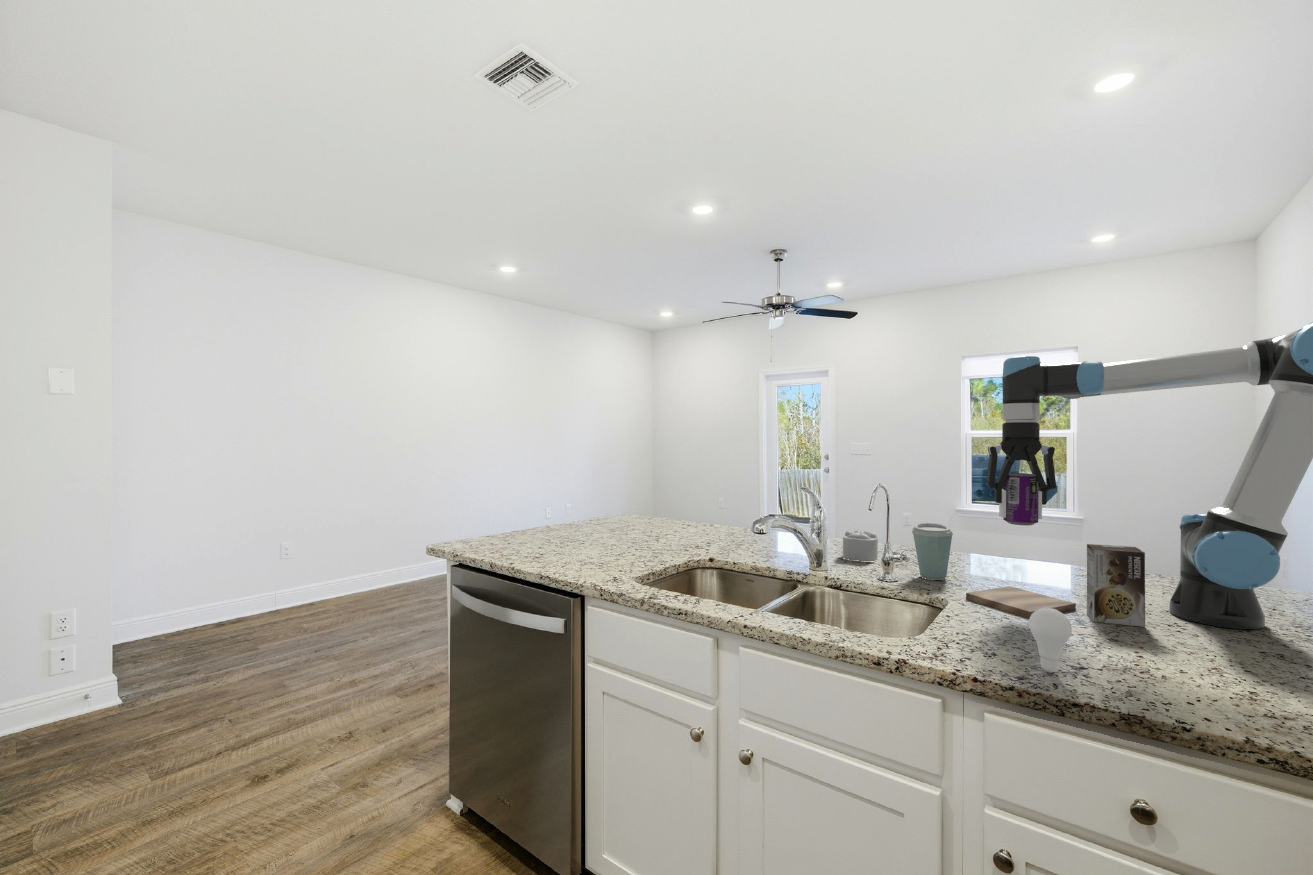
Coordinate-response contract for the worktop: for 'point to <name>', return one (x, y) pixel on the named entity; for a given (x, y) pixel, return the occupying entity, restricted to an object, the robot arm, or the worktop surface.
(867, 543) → the lumpy-topped squat cylinder
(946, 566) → the disposable coffee cup
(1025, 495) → the beverage can
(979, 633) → the worktop surface
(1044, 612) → the lightbulb
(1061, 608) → the walnut board
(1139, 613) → the coffee box
